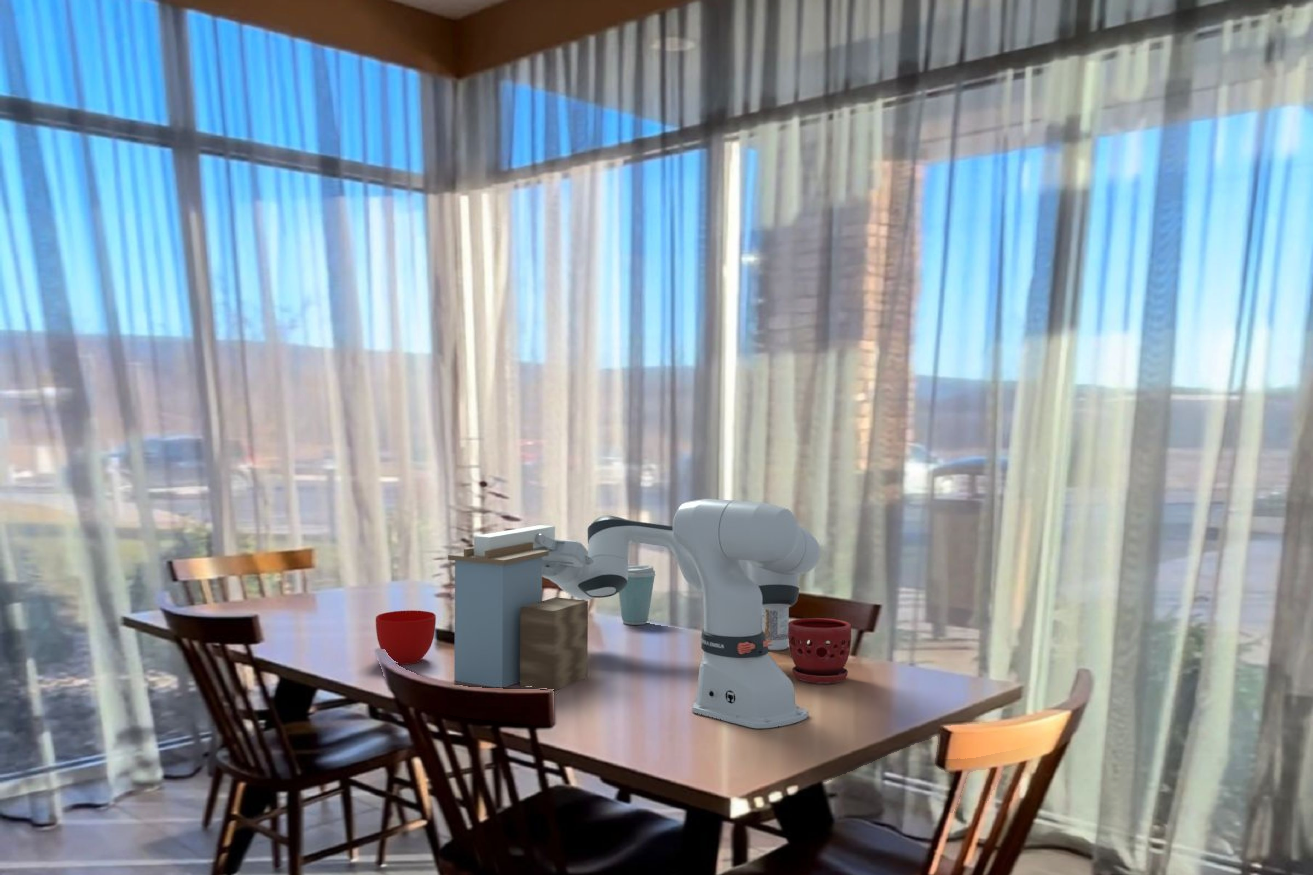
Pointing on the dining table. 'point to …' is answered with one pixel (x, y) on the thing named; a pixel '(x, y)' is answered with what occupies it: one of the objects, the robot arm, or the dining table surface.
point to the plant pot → (819, 649)
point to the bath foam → (776, 628)
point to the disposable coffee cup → (637, 595)
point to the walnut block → (553, 643)
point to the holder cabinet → (493, 611)
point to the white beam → (511, 538)
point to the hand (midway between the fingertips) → (527, 536)
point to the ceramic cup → (406, 634)
